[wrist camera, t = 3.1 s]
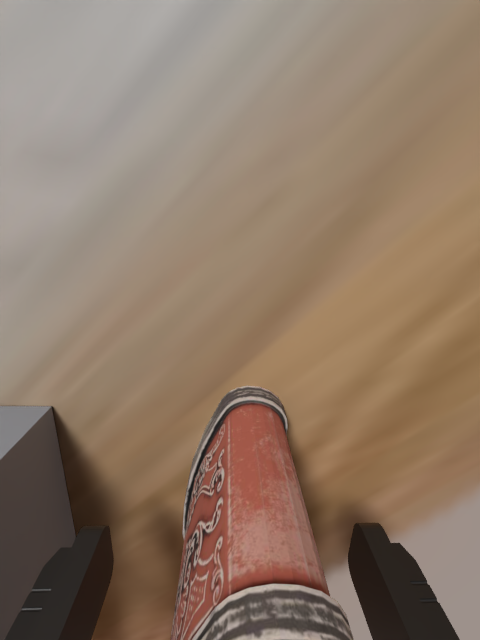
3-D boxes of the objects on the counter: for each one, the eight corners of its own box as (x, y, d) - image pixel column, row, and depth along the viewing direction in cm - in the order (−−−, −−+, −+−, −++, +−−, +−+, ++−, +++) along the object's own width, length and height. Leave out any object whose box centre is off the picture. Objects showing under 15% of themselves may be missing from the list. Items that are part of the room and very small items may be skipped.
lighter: (242, 540, 14) (273, 1186, 5) (172, 527, 14) (47, 1208, 4) (300, 396, 12) (591, 1091, 2) (217, 376, 11) (169, 1121, 2)
